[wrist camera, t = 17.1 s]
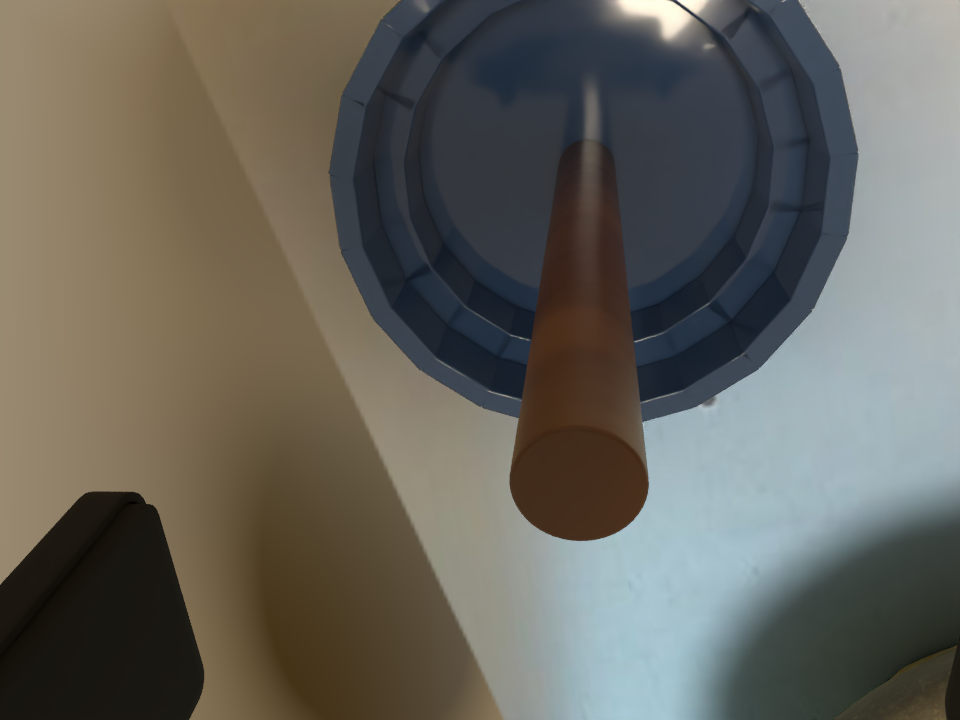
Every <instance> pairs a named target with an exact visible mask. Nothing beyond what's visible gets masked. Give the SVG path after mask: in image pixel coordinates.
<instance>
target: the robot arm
mask: <svg viewBox="0 0 960 720" xmlns="http://www.w3.org/2000/svg"><path fill="white" fill-rule="evenodd" d="M203 683H204V669H203V664H202V660H201V657H200V653H199V650H198V647H197V643H196V640H195V636H194V633H193V629H192V626H191V623H190V620H189V616H188V612H187V609H186V606H185V602H184V599H183V595H182V592H181V589H180V585H179V582H178V578H177V575H176V572H175V568H174V565H173V561H172V558H171V554H170V551H169V547H168V544H167V541H166V537H165V534H164V530H163V527H162V524H161V520H160V517H159V514H158V511H157V509H156V508H155V507H154V506H153V505H150V504H146V503H145V500H144V498H143V497H142V496H141V495H140V494H138V493H135V492H88V493H85V494H84V495H83V496H81V497H80V498H79V499H78V500H77V501H76V502H75V503H74V505H73V506H72V507H71V508H70V509H69V510H68V511H67V512H66V513H65V514H64V516H63V517H62V518H61V519H60V520H59V521H58V522H57V523H56V524H55V526H54V527H53V528H52V529H51V530H50V531H49V532H48V533H47V534H46V535H45V536H44V537H43V539H42V540H41V541H40V542H39V543H38V544H37V545H36V546H35V547H34V548H33V550H32V551H31V552H30V553H29V554H28V555H27V556H26V557H25V558H24V559H23V561H22V562H21V563H20V564H19V565H18V566H17V567H16V568H15V569H14V570H13V571H12V573H11V574H10V575H9V576H8V577H7V578H6V579H5V580H4V581H3V582H2V584H1V585H0V720H189V719H190V717H191V715H192V713H193V711H194V709H195V707H196V705H197V703H198V701H199V699H200V696H201V693H202V689H203ZM945 711H946V718H947V720H960V636H959V641H958V645H957V649H956V653H955V657H954V661H953V665H952V669H951V673H950V677H949V681H948V686H947V690H946V695H945Z"/></svg>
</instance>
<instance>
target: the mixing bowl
mask: <svg viewBox="0 0 960 720" xmlns="http://www.w3.org/2000/svg"><path fill="white" fill-rule="evenodd" d="M581 140H593V141H597V142H599V143H601V144H603V145H604V146H605V147H607V149H608V150H609V151H610V152H611V154H612V156H613V159H614V163H615V172H616V182H617V191H618V200H619V210H620V219H621V228H622V238H623V247H624V256H625V266H626V275H627V284H628V293H629V303H630V312H631V321H632V331H633V340H634V349H635V359H636V368H637V377H638V387H639V396H640V405H641V415H642V422H644V421H648V420H651V419H655V418H658V417H662V416H666V415H669V414H673V413H677V412H680V411H684V410H688V409H691V408H693V407H697V406H698V405H700V404H702V403H703V402H705V401H707V400H708V399H710V398H711V397H713V396H715V395H716V394H718V393H720V392H721V391H723V390H725V389H726V388H728V387H730V386H731V385H733V384H735V383H736V382H738V381H740V380H741V379H743V378H745V377H746V376H748V375H750V374H751V373H753V372H755V371H756V370H758V369H759V367H761V366H762V365H763V364H764V363H765V362H766V361H767V360H768V358H769V357H770V356H771V355H772V354H773V353H774V352H775V351H776V350H777V349H778V348H779V347H780V345H781V344H782V343H783V342H784V341H785V340H786V339H787V338H788V337H789V336H790V335H791V333H792V332H793V331H794V330H795V329H796V328H797V327H798V326H799V325H800V324H801V323H802V322H803V320H804V319H805V318H806V317H807V316H808V315H809V314H810V313H811V312H812V309H813V308H814V307H815V305H816V303H817V300H818V298H819V296H820V294H821V292H822V290H823V288H824V286H825V284H826V282H827V279H828V277H829V275H830V273H831V271H832V269H833V267H834V265H835V263H836V261H837V258H838V256H839V254H840V252H841V250H842V248H843V246H844V244H845V242H846V240H847V236H848V234H849V226H850V218H851V210H852V202H853V195H854V187H855V179H856V171H857V163H858V153H857V152H858V147H857V142H856V137H855V133H854V128H853V123H852V119H851V114H850V109H849V105H848V100H847V96H846V91H845V86H844V82H843V77H842V72H841V69H840V68H839V64H838V62H837V61H836V59H835V58H834V56H833V54H832V53H831V51H830V50H829V48H828V47H827V45H826V43H825V42H824V40H823V39H822V37H821V36H820V34H819V33H818V31H817V29H816V28H815V26H814V25H813V23H812V22H811V20H810V18H809V17H808V15H807V14H806V12H805V11H804V9H803V7H802V6H801V4H800V3H799V1H798V0H400V1H399V2H398V3H397V4H396V5H395V6H394V7H393V8H392V9H391V10H390V11H389V12H388V13H387V14H386V15H385V16H384V17H383V19H381V20H380V22H379V24H378V26H377V28H376V30H375V32H374V34H373V36H372V38H371V39H370V41H369V43H368V45H367V47H366V49H365V51H364V53H363V55H362V57H361V59H360V60H359V62H358V64H357V66H356V68H355V70H354V72H353V74H352V76H351V78H350V80H349V81H348V83H347V85H346V87H345V89H344V91H343V95H342V96H341V102H340V108H339V114H338V120H337V126H336V132H335V138H334V144H333V150H332V156H331V162H330V168H329V174H330V177H329V178H330V185H331V191H332V198H333V205H334V212H335V219H336V225H337V232H338V239H339V246H340V249H341V254H342V256H343V258H344V260H345V262H346V264H347V266H348V268H349V270H350V272H351V274H352V277H353V279H354V281H355V283H356V285H357V287H358V289H359V291H360V293H361V295H362V297H363V299H364V302H365V304H366V306H367V308H368V310H369V312H370V314H371V316H372V317H373V319H374V321H375V322H376V323H377V324H378V325H379V326H380V327H381V328H382V329H383V330H384V331H385V333H386V334H387V335H388V336H389V337H390V338H391V339H392V340H393V341H394V342H395V344H396V345H397V346H398V347H399V348H400V349H401V350H402V351H403V352H404V353H405V354H406V356H407V357H408V358H409V359H410V360H411V361H412V362H413V363H414V364H415V365H416V367H417V368H418V369H419V370H422V371H423V372H424V373H426V374H427V375H429V376H431V377H432V378H434V379H435V380H437V381H439V382H440V383H442V384H444V385H445V386H447V387H449V388H450V389H452V390H454V391H455V392H457V393H458V394H460V395H462V396H463V397H465V398H467V399H468V400H470V401H472V402H473V403H475V404H476V405H478V406H480V407H481V406H482V407H483V408H484V409H488V410H491V411H495V412H499V413H502V414H506V415H509V416H513V417H516V418H519V414H520V408H521V401H522V395H523V389H524V382H525V376H526V370H527V363H528V357H529V351H530V344H531V338H532V332H533V325H534V319H535V312H536V306H537V300H538V293H539V287H540V281H541V274H542V268H543V262H544V255H545V249H546V242H547V236H548V230H549V223H550V217H551V211H552V204H553V198H554V192H555V185H556V179H557V172H558V166H559V161H560V158H561V156H562V154H563V152H564V151H565V150H566V149H567V148H568V147H569V146H570V145H572V144H573V143H575V142H578V141H581Z"/></svg>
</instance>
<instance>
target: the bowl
mask: <svg viewBox="0 0 960 720" xmlns="http://www.w3.org/2000/svg"><path fill="white" fill-rule="evenodd" d="M956 649H957V646H954V647H951V648H948V649H945V650H942V651H940V652H937V653H935V654H932V655H930V656H927V657H925V658H923V659H920V660H918V661H916V662H914V663H912V664H909V665H907V666H905V667H903V668H902V669H900V670H899V671H898V672H897V673H896V674H895V675H894V676H893V677H892V678H891V679H890V680H888V681H886V682H885V683H883V684H881V685H880V686H878V687H877V688H875V689H873V690H872V691H870V692H868V693H867V694H866V695H864V696H863V697H862V698H860V699H859V700H858V701H856V702H855V703H854V704H852V705H851V706H850V707H848V708H847V709H846V710H844V711H843V712H842V713H840V714H839V715H838V716H836V717H835V718H834V719H833V720H947V718H946V711H945V695H946V690H947V686H948V681H949V677H950V673H951V669H952V665H953V661H954V657H955V653H956Z"/></svg>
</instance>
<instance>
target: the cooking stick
mask: <svg viewBox="0 0 960 720" xmlns="http://www.w3.org/2000/svg"><path fill="white" fill-rule="evenodd" d="M648 487H649V482H648V470H647V461H646V452H645V442H644V433H643V424H642V415H641V405H640V396H639V387H638V377H637V368H636V359H635V349H634V340H633V331H632V321H631V312H630V303H629V293H628V284H627V275H626V266H625V256H624V247H623V238H622V228H621V219H620V210H619V200H618V191H617V182H616V172H615V163H614V159H613V156H612V154H611V152H610V151H609V150H608V149H607V147H605V146H604V145H603V144H601V143H599V142H597V141H593V140H581V141H578V142H575V143H573V144H572V145H570V146H569V147H568V148H567V149H566V150H565V151H564V152H563V154H562V156H561V158H560V161H559V166H558V172H557V179H556V185H555V192H554V198H553V204H552V211H551V217H550V223H549V230H548V236H547V242H546V249H545V255H544V262H543V268H542V274H541V281H540V287H539V293H538V300H537V306H536V312H535V319H534V325H533V332H532V338H531V344H530V351H529V357H528V363H527V370H526V376H525V382H524V389H523V395H522V401H521V408H520V414H519V421H518V427H517V433H516V440H515V446H514V452H513V459H512V465H511V471H510V489H511V493H512V497H513V499H514V502H515V504H516V506H517V507H518V509H519V510H520V512H521V513H522V514H523V516H524V517H525V518H526V519H527V520H528V521H529V522H530V523H531V524H533V525H534V526H535V527H537V528H538V529H540V530H542V531H543V532H545V533H547V534H550V535H552V536H555V537H558V538H562V539H567V540H574V541H589V540H596V539H600V538H604V537H607V536H610V535H612V534H614V533H616V532H618V531H620V530H622V529H623V528H625V527H626V526H627V525H628V524H630V523H631V522H632V521H633V520H634V519H635V517H636V516H637V515H638V514H639V512H640V511H641V509H642V508H643V506H644V503H645V501H646V498H647V494H648Z"/></svg>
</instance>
